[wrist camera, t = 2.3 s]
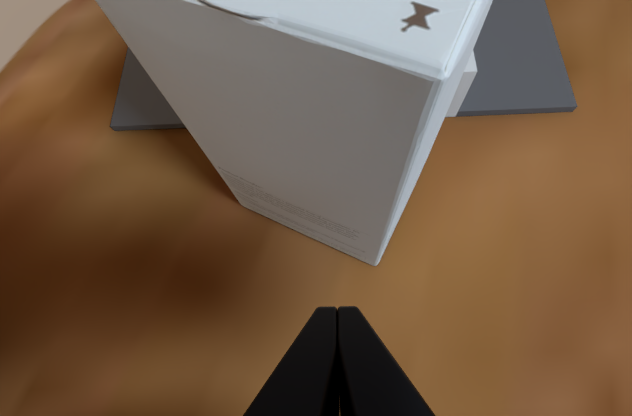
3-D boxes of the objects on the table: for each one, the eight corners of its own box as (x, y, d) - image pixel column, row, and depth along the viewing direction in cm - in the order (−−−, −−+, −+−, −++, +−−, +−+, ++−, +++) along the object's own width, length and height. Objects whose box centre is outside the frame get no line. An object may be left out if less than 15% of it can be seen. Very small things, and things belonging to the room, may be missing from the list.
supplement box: (435, 139, 23) (586, -202, 9) (376, 270, 20) (458, 87, 6) (303, 90, 25) (253, -253, 11) (234, 204, 22) (46, -51, 8)
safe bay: (572, 111, 23) (618, 64, 19) (114, 130, 24) (73, 91, 21) (535, -11, 26) (567, -70, 22) (140, 14, 28) (109, -38, 24)
